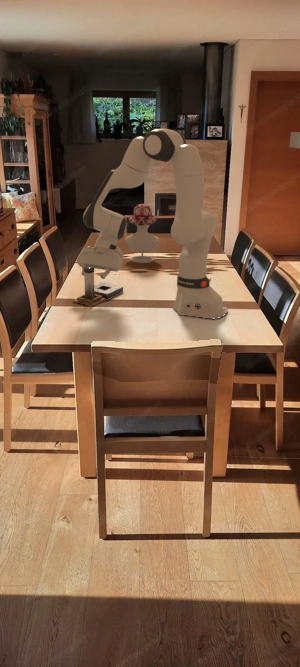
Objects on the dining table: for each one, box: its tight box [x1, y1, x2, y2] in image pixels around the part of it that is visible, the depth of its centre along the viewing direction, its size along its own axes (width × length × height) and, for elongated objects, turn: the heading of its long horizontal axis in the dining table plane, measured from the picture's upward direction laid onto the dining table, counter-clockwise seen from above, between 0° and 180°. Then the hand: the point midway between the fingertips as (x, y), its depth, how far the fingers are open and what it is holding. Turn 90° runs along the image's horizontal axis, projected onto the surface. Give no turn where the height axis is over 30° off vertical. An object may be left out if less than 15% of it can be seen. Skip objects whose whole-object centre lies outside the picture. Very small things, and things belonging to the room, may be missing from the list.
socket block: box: [94, 282, 124, 300], centre depth 224 cm, size 12×12×2 cm
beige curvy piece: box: [124, 203, 161, 264], centre depth 275 cm, size 19×18×30 cm
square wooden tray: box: [72, 293, 107, 307], centre depth 214 cm, size 10×10×2 cm
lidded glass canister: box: [83, 266, 95, 300], centre depth 212 cm, size 4×4×14 cm
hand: (92, 276), depth 213 cm, fingers open, 8 cm apart
